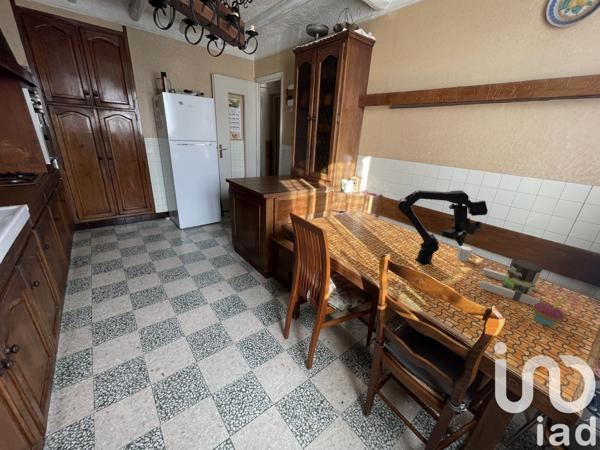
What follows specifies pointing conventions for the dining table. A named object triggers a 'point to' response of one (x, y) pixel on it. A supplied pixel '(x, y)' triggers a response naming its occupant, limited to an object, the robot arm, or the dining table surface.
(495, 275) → the guide track
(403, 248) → the dining table surface
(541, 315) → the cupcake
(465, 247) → the shot glass
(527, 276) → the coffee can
